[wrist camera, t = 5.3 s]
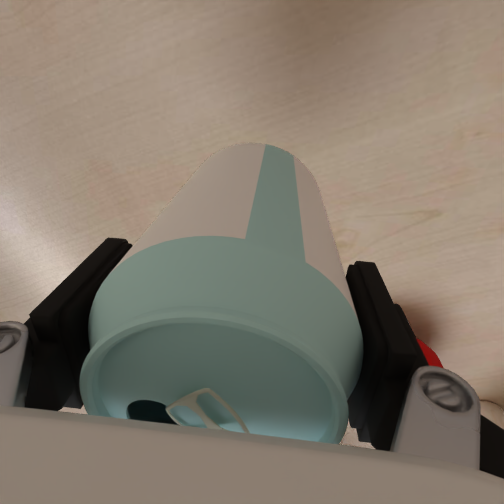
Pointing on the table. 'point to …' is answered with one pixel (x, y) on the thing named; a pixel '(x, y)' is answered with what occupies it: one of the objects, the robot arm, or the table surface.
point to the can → (230, 309)
